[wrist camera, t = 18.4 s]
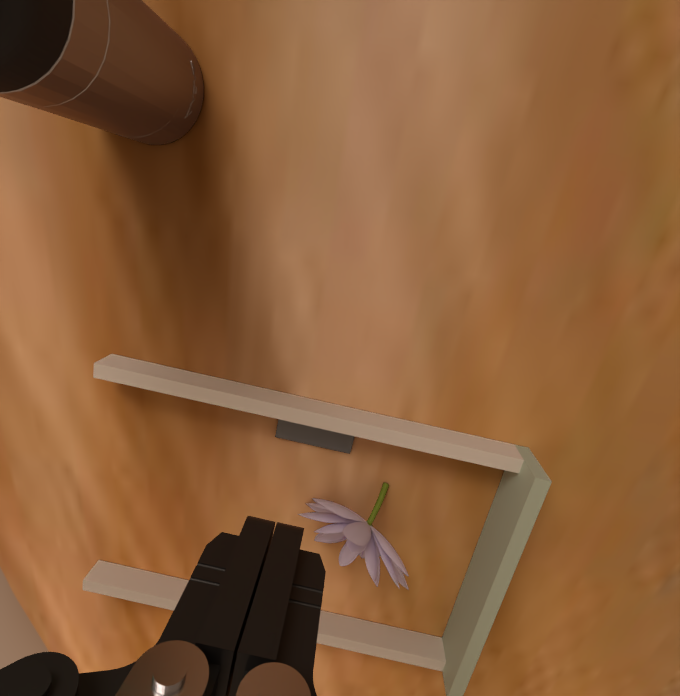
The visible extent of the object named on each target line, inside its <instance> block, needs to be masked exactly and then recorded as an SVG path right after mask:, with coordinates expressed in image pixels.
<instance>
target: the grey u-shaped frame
mask: <svg viewBox="0 0 680 696" xmlns="http://www.w3.org/2000/svg"><path fill="white" fill-rule="evenodd" d="M93 377H94V378H98V379H103V380H107V381H111V382H116V383H120V384H125V385H129V386H134V387H138V388H142V389H147V390H151V391H156V392H160V393H165V394H169V395H173V396H178V397H182V398H187V399H191V400H196V401H200V402H204V403H209V404H213V405H218V406H222V407H227V408H231V409H235V410H240V411H244V412H249V413H253V414H258V415H262V416H267V417H271V418H275V419H279V420H278V425H277V430H276V436H275V437H278V438H282V439H287V440H291V441H296V442H300V443H304V444H309V445H313V446H318V447H322V448H327V449H331V450H335V451H340V452H344V453H349V454H350V452H351V448H352V444H353V440H354V436H355V437H360V438H364V439H368V440H373V441H377V442H382V443H386V444H391V445H395V446H399V447H404V448H408V449H413V450H417V451H422V452H426V453H430V454H435V455H439V456H444V457H448V458H453V459H457V460H461V461H466V462H470V463H475V464H479V465H484V466H488V467H492V468H497V469H501V470H505V471H504V473H503V476H502V479H501V481H500V484H499V487H498V489H497V492H496V495H495V497H494V500H493V503H492V505H491V508H490V511H489V513H488V516H487V519H486V521H485V524H484V527H483V529H482V532H481V535H480V537H479V540H478V543H477V545H476V548H475V551H474V553H473V556H472V559H471V562H470V564H469V567H468V570H467V572H466V575H465V578H464V580H463V583H462V586H461V588H460V591H459V594H458V596H457V599H456V602H455V604H454V607H453V610H452V612H451V615H450V618H449V620H448V623H447V626H446V628H445V631H444V634H443V636H442V638H441V637H437V636H432V635H428V634H424V633H419V632H415V631H410V630H406V629H402V628H397V627H393V626H388V625H384V624H379V623H375V622H371V621H366V620H362V619H357V618H353V617H349V616H344V615H340V614H335V613H331V612H326V611H322V610H321V612H320V620H319V627H318V635H317V643H319V644H323V645H328V646H332V647H337V648H341V649H345V650H350V651H354V652H359V653H363V654H367V655H372V656H376V657H381V658H385V659H389V660H394V661H398V662H403V663H407V664H412V665H416V666H420V667H425V668H429V669H434V670H438V671H442V672H443V678H444V685H445V691H446V696H463V695H464V692H465V690H466V688H467V685H468V683H469V680H470V678H471V675H472V673H473V671H474V668H475V666H476V663H477V661H478V659H479V656H480V654H481V651H482V649H483V646H484V644H485V642H486V639H487V637H488V634H489V632H490V630H491V627H492V625H493V622H494V620H495V618H496V615H497V613H498V610H499V608H500V605H501V603H502V601H503V598H504V596H505V593H506V591H507V589H508V586H509V584H510V581H511V579H512V576H513V574H514V572H515V569H516V567H517V564H518V562H519V560H520V557H521V555H522V552H523V550H524V547H525V545H526V543H527V540H528V538H529V535H530V533H531V531H532V528H533V526H534V523H535V521H536V519H537V516H538V514H539V511H540V509H541V506H542V504H543V502H544V499H545V497H546V494H547V492H548V490H549V487H550V485H551V482H552V481H551V480H550V478H549V477H548V475H547V474H546V472H545V471H544V470H543V468H542V467H541V465H540V464H539V462H538V461H537V459H536V458H535V456H534V455H533V453H532V452H531V450H530V449H529V448H528V447H523V446H519V445H514V444H510V443H505V442H501V441H496V440H492V439H488V438H483V437H479V436H474V435H470V434H465V433H461V432H457V431H452V430H448V429H443V428H439V427H434V426H430V425H426V424H421V423H417V422H412V421H408V420H403V419H399V418H395V417H390V416H386V415H381V414H377V413H372V412H368V411H363V410H359V409H355V408H350V407H346V406H341V405H337V404H332V403H328V402H324V401H319V400H315V399H310V398H306V397H301V396H297V395H293V394H288V393H284V392H279V391H275V390H270V389H266V388H262V387H257V386H253V385H248V384H244V383H239V382H235V381H231V380H226V379H222V378H217V377H213V376H208V375H204V374H199V373H195V372H191V371H186V370H182V369H177V368H173V367H168V366H164V365H160V364H155V363H151V362H146V361H142V360H137V359H133V358H129V357H124V356H120V355H115V354H110V355H108V356H106V357H105V358H103V359H101V360H99V361H97V362H95V363H94V375H93ZM188 581H189V580H185V579H181V578H176V577H172V576H168V575H163V574H159V573H154V572H150V571H145V570H141V569H137V568H132V567H128V566H123V565H119V564H115V563H110V562H106V561H101V560H98V561H97V563H96V564H95V565H94V567H93V568H92V569H91V570H90V572H89V573H88V574H87V575H86V577H85V578H84V579H83V590H85V591H90V592H94V593H98V594H103V595H107V596H112V597H116V598H120V599H125V600H129V601H134V602H138V603H142V604H147V605H151V606H156V607H160V608H165V609H169V610H173V611H174V609H175V607H176V605H177V603H178V601H179V599H180V597H181V595H182V593H183V591H184V589H185V587H186V585H187V583H188Z"/></svg>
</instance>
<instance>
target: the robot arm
mask: <svg viewBox="0 0 680 696" xmlns="http://www.w3.org/2000/svg"><path fill="white" fill-rule="evenodd" d="M203 92H204V84H203V78H202V73H201V69H200V67H199V64H198V61H197V59H196V57H195V55H194V54H193V52H192V50H191V49H190V47H189V46H188V45H187V44H186V43H185V41H184V40H183V39H182V38H181V37H180V36H179V35H178V34H177V33H176V32H175V31H174V30H172V29H171V28H170V27H169V26H168V25H167V24H166V23H165V22H164V21H163V20H162V19H161V18H160V17H159V16H158V15H157V14H156V13H155V12H154V11H153V10H152V9H150V8H149V7H148V6H147V5H146V4H145V3H144V2H143V1H142V0H0V97H3V98H6V99H9V100H12V101H15V102H18V103H21V104H24V105H28V106H32V107H35V108H38V109H41V110H44V111H47V112H50V113H53V114H56V115H59V116H62V117H65V118H68V119H71V120H74V121H77V122H81V123H84V124H87V125H90V126H93V127H96V128H99V129H102V130H105V131H108V132H111V133H114V134H117V135H120V136H123V137H126V138H129V139H132V140H135V141H138V142H142V143H146V144H150V145H162V144H167V143H171V142H173V141H175V140H177V139H179V138H181V137H182V136H183V135H185V134H186V133H187V132H188V131H189V130H190V129H191V127H192V126H193V125H194V123H195V122H196V120H197V118H198V116H199V113H200V111H201V107H202V102H203ZM274 527H275V522H274V521H269V520H265V519H260V518H256V517H251V516H248V517H247V519H246V521H245V523H244V526H243V528H242V531H241V533H240V535H239V536H237V535H232V534H228V533H224V532H222V533H220V534H219V535H218V536H217V537H216V538H214V539H213V540H212V541H211V542H210V543H208V544H207V545H206V547H205V549H204V551H203V553H202V555H201V557H200V559H199V561H198V564H197V566H196V567H195V569H194V571H193V573H192V575H191V578H190V580H189V581H188V583H187V585H186V587H185V589H184V591H183V593H182V595H181V597H180V599H179V601H178V603H177V605H176V607H175V609H174V611H173V613H172V615H171V617H170V619H169V621H168V623H167V625H166V627H165V629H164V631H163V633H162V635H161V637H160V639H159V641H158V642H157V643H156V645H155V646H154V647H152V648H150V649H149V650H147V651H146V652H145V653H144V654H143V655H142V656H141V657H140V658H139V659H138V660H137V661H136V662H134V663H132V664H130V665H127V666H125V667H122V668H118V669H113V670H107V671H98V672H89V673H81V674H79V673H78V669H77V666H76V664H75V663H74V661H73V660H71V659H70V658H69V657H68V656H66V655H64V654H60V653H56V652H42V653H37V654H33V655H30V656H27V657H24V658H22V659H20V660H18V661H16V662H14V663H12V664H10V665H8V666H6V667H4V668H2V669H0V696H317V694H316V692H315V688H314V684H313V667H314V659H315V651H316V643H317V635H318V627H319V620H320V612H321V604H322V596H323V588H324V580H325V569H324V566H323V563H322V560H321V557H320V554H317V553H313V552H308V551H304V550H300V545H301V541H302V536H303V531H304V528H301V527H296V526H292V525H287V524H283V523H279V522H277V524H276V528H275V531H274ZM273 532H274V534H273Z"/></svg>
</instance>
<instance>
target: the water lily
mask: <svg viewBox="0 0 680 696" xmlns="http://www.w3.org/2000/svg"><path fill="white" fill-rule="evenodd" d="M388 487H389V485H388V484H387V483H383V486H382V489H381V491H380V494H379V497H378V499H377V502H376V504H375V506H374V508H373V510H372V513H371V515H370V517H369V519H368V520H367V521H365V520H364V519H363V518H362V517H361V516H359V515H358V514H357V513H355V512H354V511H352V510H350V509H348V508H347V507H344V506H342V505H340V504H337V503H335V502H332V501H328V500H323V499H316V498H312V499H313V500H314V501H315V502H316V503H305V504H306V505H309V507H310V508H311V509H313V510H314V511H316V512H310V513H302V514H298V515H301V516H303V517H306V518H309V519H313V520H316V521H321V522H327V523H334V524H330V525H327V526H324V527H322V528H320V529H318V530H316V531H314V532H318V533H319V534H318V535H316V537H315V539H314V541H318V542H324V543H337V542H341V541H344V540H346V539H347V541H346V543H345V545H344V546H343V548H342V549H341V552H340V555H339V564H340V566H346V565H349V564H350V563H352V562H353V561H354V560H355V558H356V557H357V556H358V555H360V557H361V559H362V558H365V562H366V566H367V569H368V572H369V574H370V576H371V578H372V580H373V581H374V583H375V585H376V586H377V587H378V584H379V578H380V558H379V556H381V558H382V560H383V562H384V564H385V566H386V568H387V570H388V572H389V574H390V576H391V578H392V579H393V581H394V582H395V584H396V585H397V587H398V588H399V584H398V582H399V583H400V584H401V585H402V586H403V587H405V588H406V589H407V590H409V589H408V586H407V583H406V580H405V577H404V575H403V573H404V574H405V575H406V576H408V573H407V571H406V568H405V566H404V564H403V562H402V560H401V559H400V557H399V555H398V554H397V552H396V551H395V549H394V548H393V547H392V545H391V544H390V543H389V542H388V541H387V539H386V538H385V537H384V536H383V535H382V534H381V533H380V532H379V531H377V530H376V529H375V528H374V527H373V526H372V523H373V521H374V519H375V517H376V515H377V513H378V511H379V509H380V507H381V505H382V502H383V500H384V498H385V495H386V492H387V490H388ZM402 572H403V573H402ZM408 577H409V576H408ZM399 589H400V588H399Z"/></svg>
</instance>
